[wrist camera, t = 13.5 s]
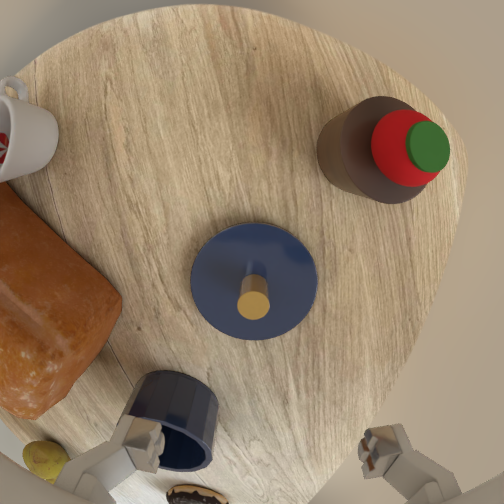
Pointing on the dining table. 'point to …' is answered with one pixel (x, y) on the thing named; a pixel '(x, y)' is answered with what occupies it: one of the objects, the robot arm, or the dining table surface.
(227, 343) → the dining table surface
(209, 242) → the pot lid
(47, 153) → the cup
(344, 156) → the stand
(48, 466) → the fruit
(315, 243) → the dining table surface
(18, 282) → the bread
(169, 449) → the pot
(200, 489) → the donut
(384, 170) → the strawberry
